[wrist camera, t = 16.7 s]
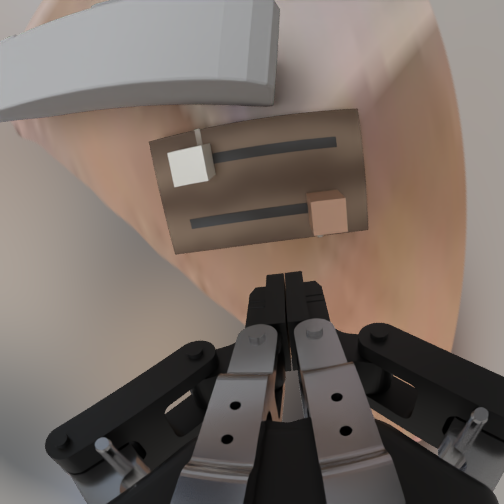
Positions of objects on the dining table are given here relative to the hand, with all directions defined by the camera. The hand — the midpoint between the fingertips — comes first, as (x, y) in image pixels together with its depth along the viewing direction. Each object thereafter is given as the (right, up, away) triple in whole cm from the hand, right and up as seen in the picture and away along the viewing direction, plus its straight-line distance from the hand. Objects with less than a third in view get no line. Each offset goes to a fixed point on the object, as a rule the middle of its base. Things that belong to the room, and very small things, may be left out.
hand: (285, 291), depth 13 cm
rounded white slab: (-13, +20, +16) cm, 29 cm away
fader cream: (-7, +10, +14) cm, 19 cm away
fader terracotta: (+5, +6, +15) cm, 17 cm away
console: (0, +10, +19) cm, 21 cm away
